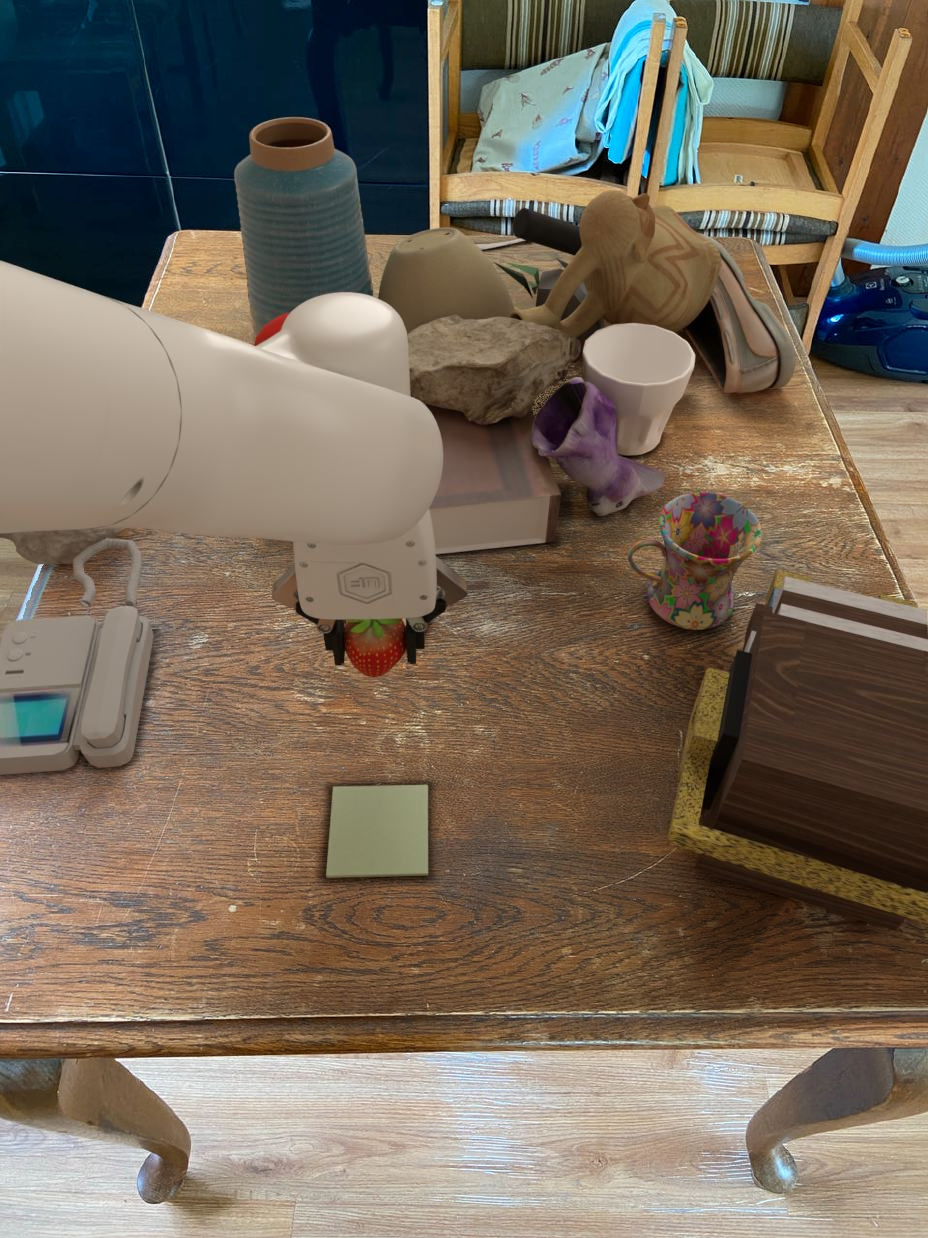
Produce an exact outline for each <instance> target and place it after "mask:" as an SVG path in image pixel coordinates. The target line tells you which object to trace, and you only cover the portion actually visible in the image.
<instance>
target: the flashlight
mask: <svg viewBox="0 0 928 1238" xmlns="http://www.w3.org/2000/svg"><path fill="white" fill-rule="evenodd" d="M514 216H515V217H514V219H513V222H512V233H513V235H514V237H516V239H523V240H527V241H529V243H530V242H531V243H534V244H537V245H539V246H543V247H545V248H549V249H552V250H555V251H558V252H561V253H565V254H568V255H571V256H573V257H574V256H575V255H576V254H577V252H578V251H579V250H580V248H581V247H582V243H581V238H580V232H579V225H577V224H574V223H571V222H568V221H565V220H562V219H559V218H557V217H553V216H550V215H548V214H544V213H542V212H539V211H536V210H534V209H530V208H528V207H523V208H520V209H519V210H518V211H517V213H516V214H515V215H514ZM527 241H526V242H527Z"/></svg>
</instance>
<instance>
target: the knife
mask: <svg viewBox="0 0 928 1238" xmlns="http://www.w3.org/2000/svg"><path fill="white" fill-rule="evenodd" d="M520 242H527V243H530V241H527V240H523V239H520V238H516V239H511V240H505V241H499V242H491V243H475V244H476V245H477V246H478V247H479V248H480V249H481V250H482V251H483V250H488V249H493V248H498V247H502V246H509V245H513V244H517V243H520Z"/></svg>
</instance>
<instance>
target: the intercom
mask: <svg viewBox="0 0 928 1238" xmlns="http://www.w3.org/2000/svg"><path fill="white" fill-rule="evenodd" d="M107 549H116V550H126V551H127V552H128V554H129V555H130V570H129V573H128V579H127V583H126V587H125V592H124V595H125V605H122V606H116V607H113V608H112V609H110V610H108V611H107V613H106V615H105V617H104V620H103V624H102V627H101V625H100V623H99V620H98V618H96V617H93V616H90V612H91V610H90V607H91V606H92V604H93V603H94V600H95V599H96V596H97V593H98V592H97V589H96V586H95V585H96V584H95V581H94V579H93V578H92V577H90V576H89V575H88V574H87V573H85V567H84V565H85V564H86V563H87V562H88V561H89V560H90V559H92V557H93V556H95V555H97V554H99V553H101V552H103V551H105V550H107ZM72 570H73V571H72V572H73V578H74V580H76V581H77V582H78V583H79V584H81V585H82V587H83V590H84V593H83V596H82V597H81V599H80V601H79V604H80V606H82V607H84V608H85V609H86V614H85V615H71V616H55V617H40V618H22V619H18V620H15V621H11V622H9V623H8V624H7V625H6V626H5V628H4V629H3V632H2V636H1V639H0V775H2V776H3V775H15V774H29V773H44V772H57V771H65V770H67V769H69V768H71V767H74V766H75V765H76V763H77V761H78V760H79V756H80V753H81V754H82V755H83V757H84V758H85V759H86V760H87V762H88V763H89V765H91V766H93V767H95V768H97V769H100V768H113V767H114V768H115V767H116V768H117V767H122V766H123V765H125V764H127V763H129V762H131V760H132V758H133V757H134V754H135V747H136V741H137V736H138V732H139V731H138V730H139V724H140V719H141V718H140V717H141V712H142V708H143V702H144V701H143V700H144V695H145V690H146V684H147V678H148V672H149V666H150V661H151V655H152V649H153V644H154V637H155V635H154V632H153V628H152V625H151V622H150V619H149V617H147V616H144V615H139V610H138V608H136V606H137V604H138V595H137V591H138V588H139V584H140V580H141V576H142V570H143V554H142V552H141V551H140V549H139V548H138V546H137V545H136V543H135V541H134V540H132V539H123V538H105V539H103V540H101V541H99V542H97V543H94V544H92V545H90V546H88V547H86V548H85V549H84V550H83V551H82V552H81V553H80V554H78V555H77V556H76V557H75V558H74V559H73V562H72Z"/></svg>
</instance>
